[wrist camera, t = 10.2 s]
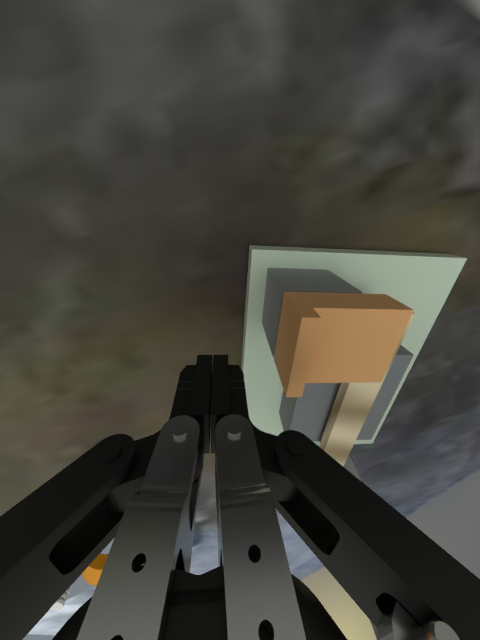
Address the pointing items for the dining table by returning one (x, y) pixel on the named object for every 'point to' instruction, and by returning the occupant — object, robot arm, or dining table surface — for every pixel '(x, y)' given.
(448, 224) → the dining table surface
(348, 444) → the strap
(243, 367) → the board
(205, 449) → the robot arm
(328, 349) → the block
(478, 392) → the dining table surface
